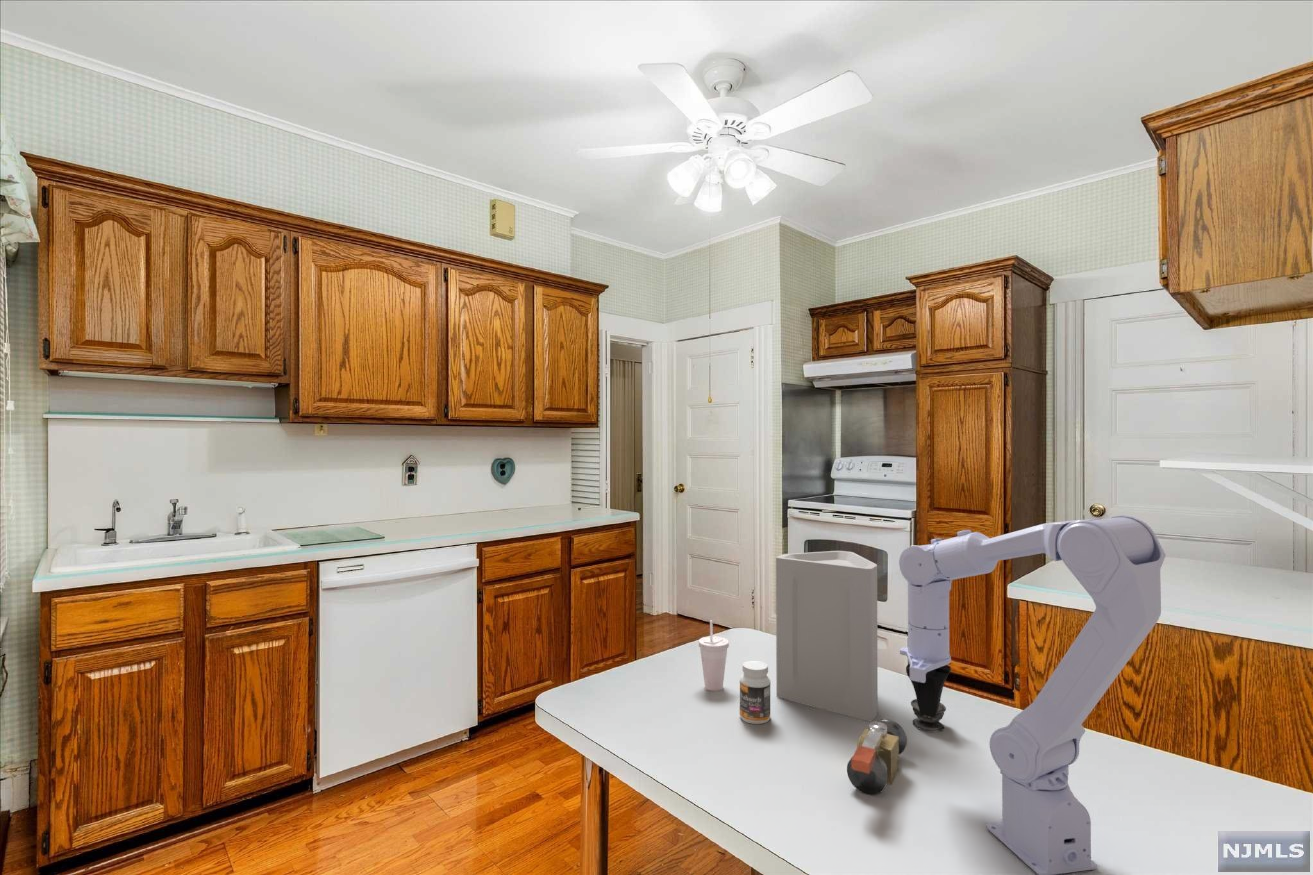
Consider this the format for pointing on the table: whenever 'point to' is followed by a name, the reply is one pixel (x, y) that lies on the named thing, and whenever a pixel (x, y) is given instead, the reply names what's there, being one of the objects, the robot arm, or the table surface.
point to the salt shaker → (928, 718)
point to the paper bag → (827, 632)
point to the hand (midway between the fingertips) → (928, 714)
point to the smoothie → (713, 659)
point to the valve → (880, 760)
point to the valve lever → (869, 748)
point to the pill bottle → (755, 693)
